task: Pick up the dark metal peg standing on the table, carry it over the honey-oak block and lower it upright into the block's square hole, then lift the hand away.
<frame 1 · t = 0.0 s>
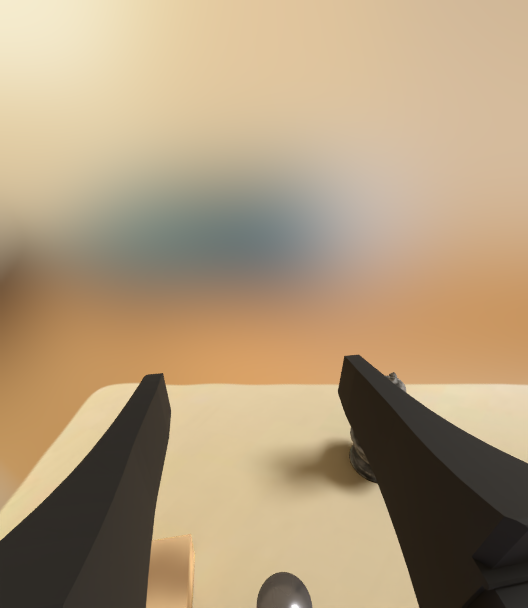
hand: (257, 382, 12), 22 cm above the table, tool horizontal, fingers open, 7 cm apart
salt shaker: (373, 461, 33), on the table
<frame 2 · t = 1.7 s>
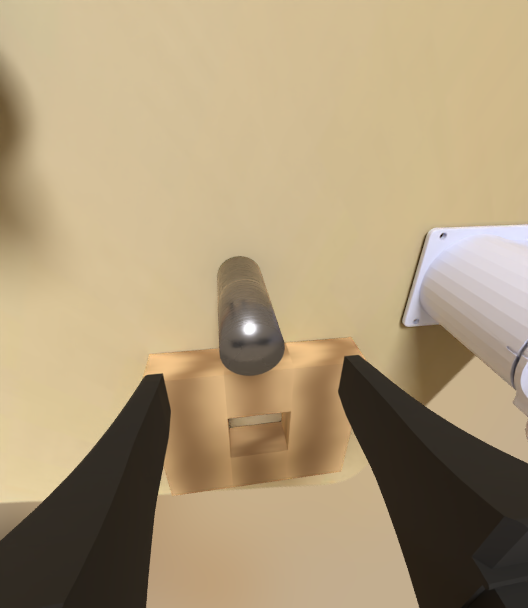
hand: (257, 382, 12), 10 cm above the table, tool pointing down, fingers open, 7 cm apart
oak hole block: (255, 406, 27), on the table
metal peg: (239, 277, 21), on the table
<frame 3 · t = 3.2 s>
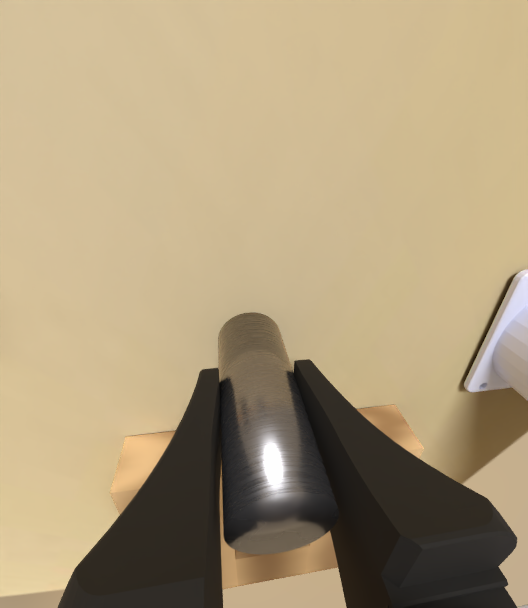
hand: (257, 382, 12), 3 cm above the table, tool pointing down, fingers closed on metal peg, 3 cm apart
oak hole block: (266, 485, 21), on the table
metal peg: (249, 339, 15), on the table, touching gripper
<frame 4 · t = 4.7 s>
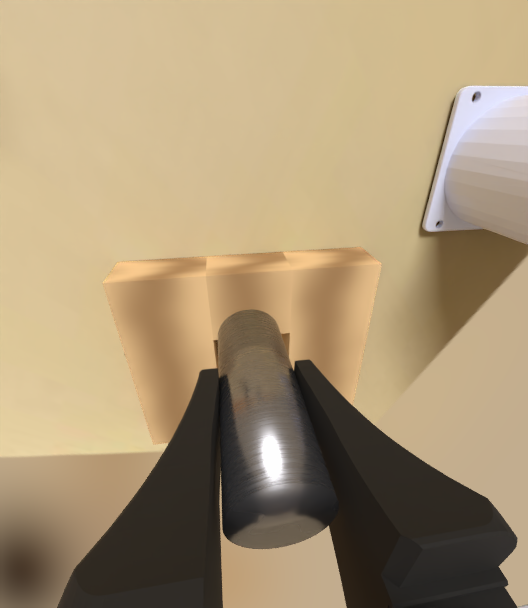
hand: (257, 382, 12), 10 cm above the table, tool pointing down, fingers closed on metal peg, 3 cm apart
oak hole block: (248, 339, 23), on the table
metal peg: (249, 336, 14), point 7 cm above the table, touching gripper
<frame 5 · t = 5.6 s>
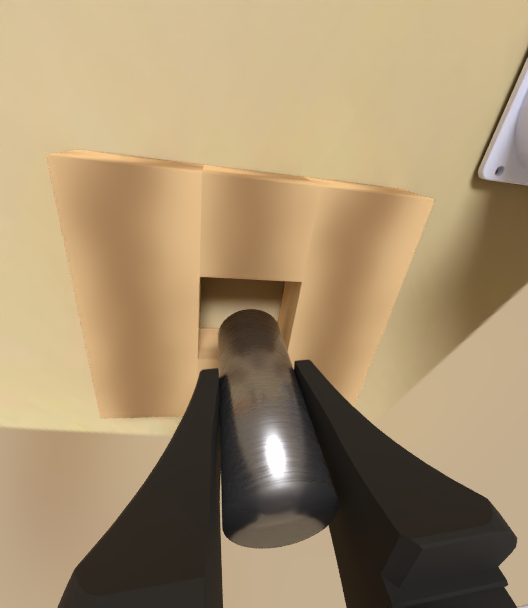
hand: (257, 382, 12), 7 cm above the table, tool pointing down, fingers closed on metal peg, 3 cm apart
oak hole block: (242, 295, 18), on the table
metal peg: (249, 336, 14), point 4 cm above the table, touching gripper
when the fingers open (4 cm above the table, at t = 6.4 s): metal peg drops 1 cm, resting in oak hole block.
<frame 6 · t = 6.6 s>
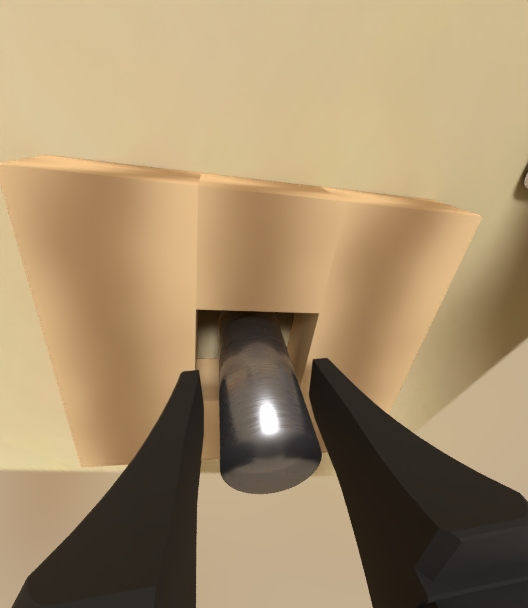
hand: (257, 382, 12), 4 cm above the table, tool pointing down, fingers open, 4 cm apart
oak hole block: (246, 322, 16), on the table
metal peg: (246, 319, 16), resting in oak hole block
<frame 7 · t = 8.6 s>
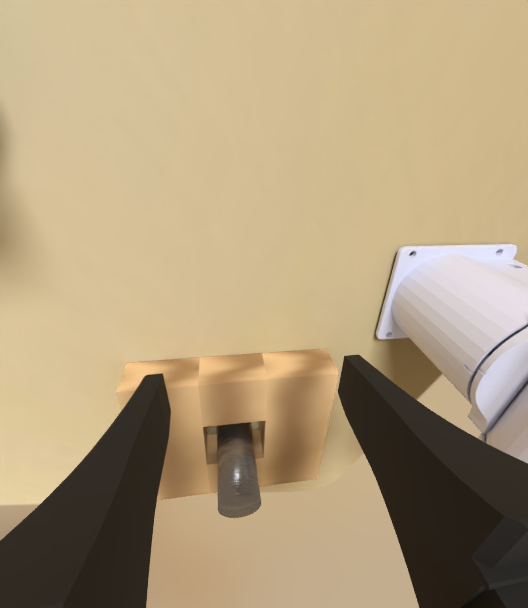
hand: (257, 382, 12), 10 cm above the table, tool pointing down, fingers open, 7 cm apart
oak hole block: (233, 414, 28), on the table
metal peg: (233, 413, 28), resting in oak hole block
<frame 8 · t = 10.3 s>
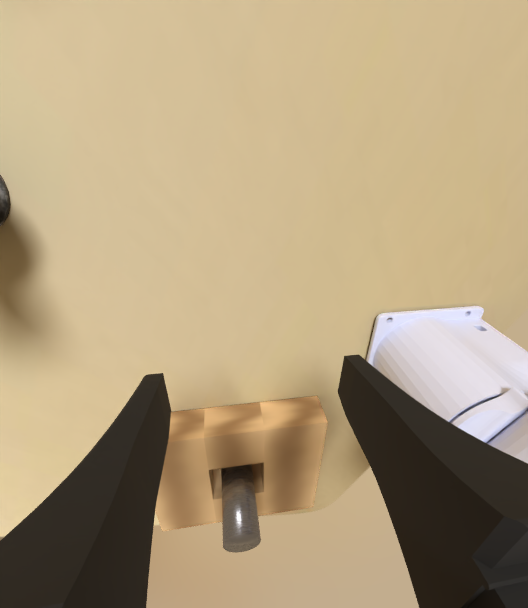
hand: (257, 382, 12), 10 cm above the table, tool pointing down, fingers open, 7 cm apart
oak hole block: (235, 452, 31), on the table
metal peg: (235, 451, 31), resting in oak hole block
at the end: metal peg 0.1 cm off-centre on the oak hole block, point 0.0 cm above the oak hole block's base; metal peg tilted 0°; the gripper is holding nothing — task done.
